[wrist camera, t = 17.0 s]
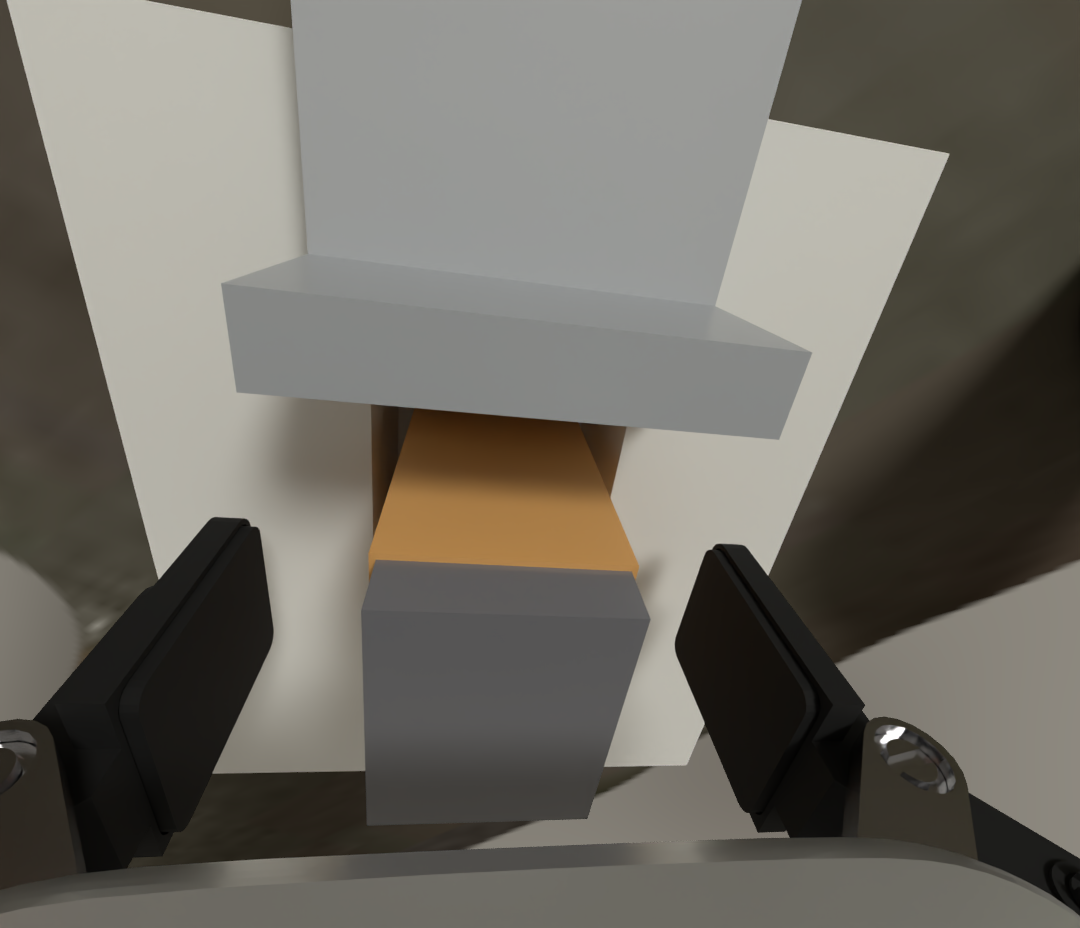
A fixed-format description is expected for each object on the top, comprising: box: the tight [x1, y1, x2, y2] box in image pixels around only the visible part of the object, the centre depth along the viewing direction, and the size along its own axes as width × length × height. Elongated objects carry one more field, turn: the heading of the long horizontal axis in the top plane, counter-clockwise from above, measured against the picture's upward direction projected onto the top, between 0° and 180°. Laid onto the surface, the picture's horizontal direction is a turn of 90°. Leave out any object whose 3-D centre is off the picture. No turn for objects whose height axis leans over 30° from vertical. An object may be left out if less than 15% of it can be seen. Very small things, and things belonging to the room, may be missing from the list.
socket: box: [7, 0, 949, 774], centre depth 14 cm, size 15×18×5 cm
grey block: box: [221, 0, 812, 440], centre depth 7 cm, size 7×8×4 cm
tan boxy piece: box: [361, 408, 651, 826], centre depth 12 cm, size 4×5×9 cm
